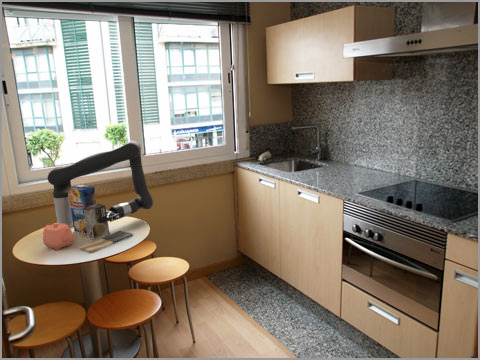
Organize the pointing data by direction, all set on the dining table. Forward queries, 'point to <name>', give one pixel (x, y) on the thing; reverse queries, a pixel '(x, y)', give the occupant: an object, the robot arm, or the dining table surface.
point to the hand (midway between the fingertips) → (94, 220)
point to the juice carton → (80, 204)
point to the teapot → (57, 236)
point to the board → (105, 241)
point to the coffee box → (96, 221)
